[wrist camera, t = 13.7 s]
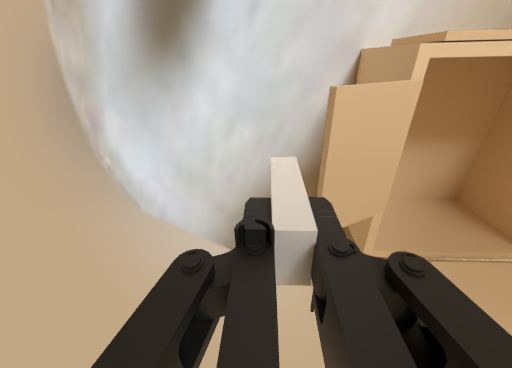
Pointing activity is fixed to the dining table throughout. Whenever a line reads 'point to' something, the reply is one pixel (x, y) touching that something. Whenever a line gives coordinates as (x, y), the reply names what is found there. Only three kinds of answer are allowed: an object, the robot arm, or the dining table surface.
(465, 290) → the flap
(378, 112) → the side flap
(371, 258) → the robot arm
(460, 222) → the carton
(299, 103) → the dining table surface
